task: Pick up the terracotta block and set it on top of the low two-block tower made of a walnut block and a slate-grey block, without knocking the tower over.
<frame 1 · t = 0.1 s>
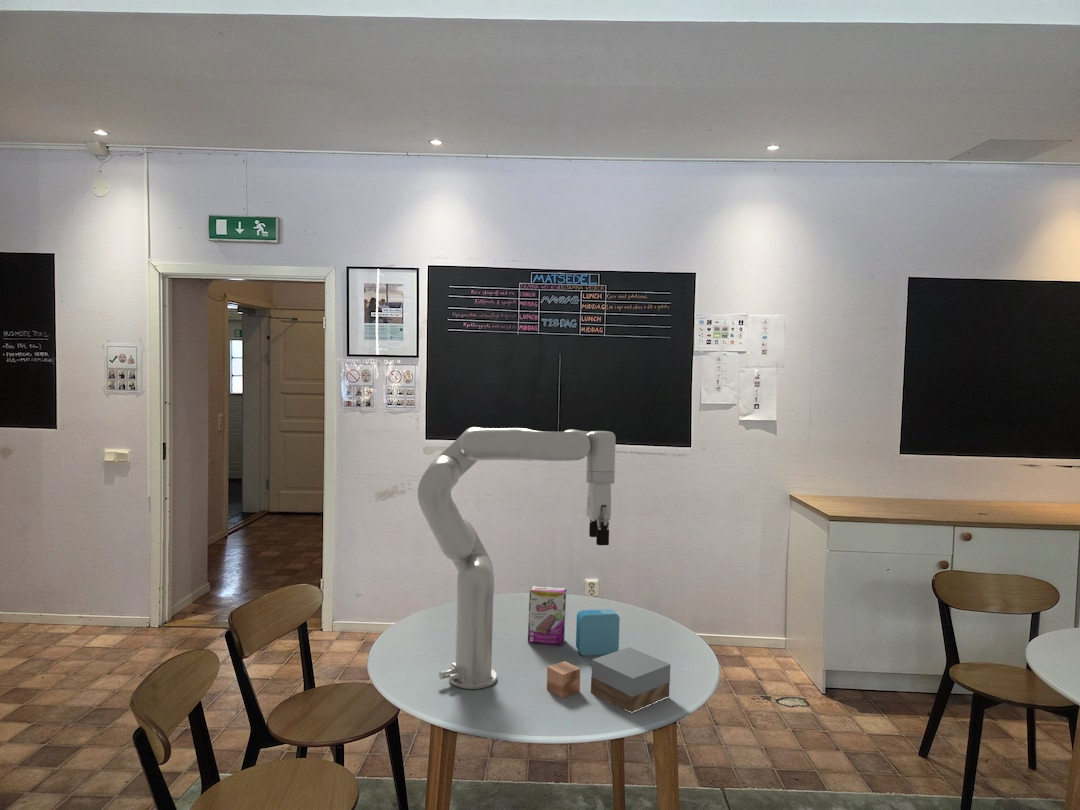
hand: (598, 540, 177), 37 cm above the table, tool pointing down, fingers open, 9 cm apart
tower bottom: (629, 696, 169), on the table, touching tower top
candy bar box: (546, 642, 203), on the table
blue rounded block: (597, 652, 196), on the table
stack block: (563, 690, 170), on the table
tower top: (630, 679, 168), point 4 cm above the table, touching tower bottom
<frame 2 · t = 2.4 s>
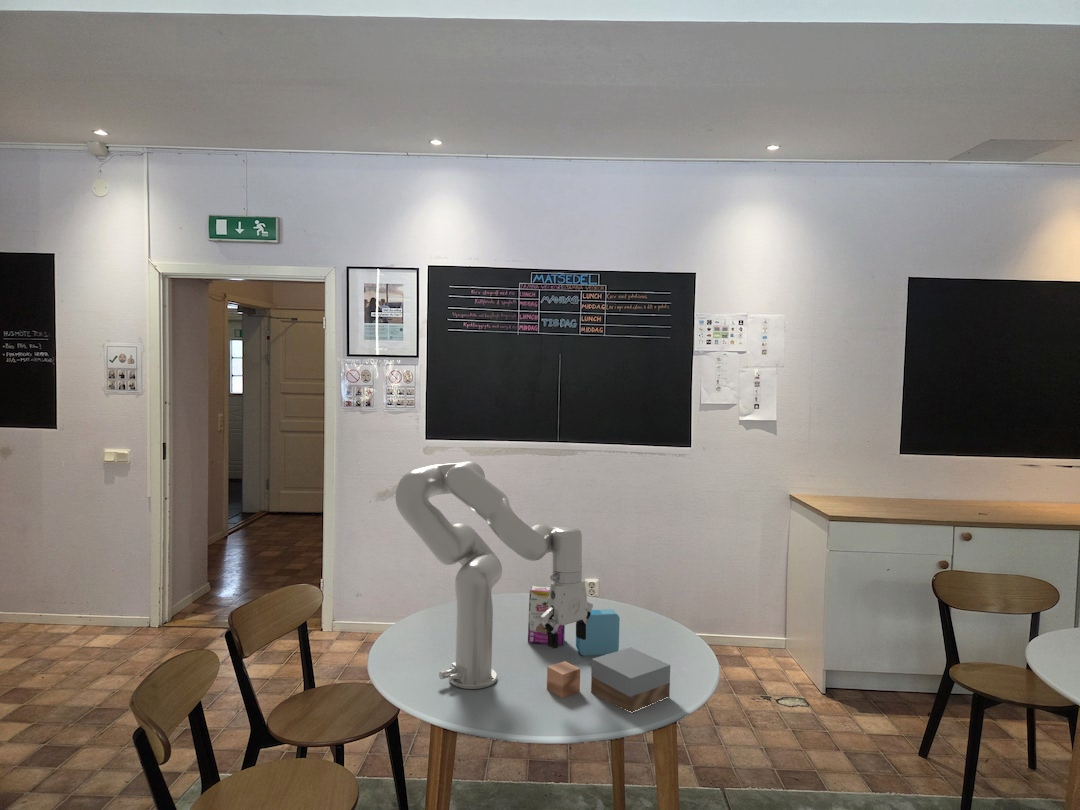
hand: (567, 642, 170), 12 cm above the table, tool pointing down, fingers open, 9 cm apart
nothing on the table moved.
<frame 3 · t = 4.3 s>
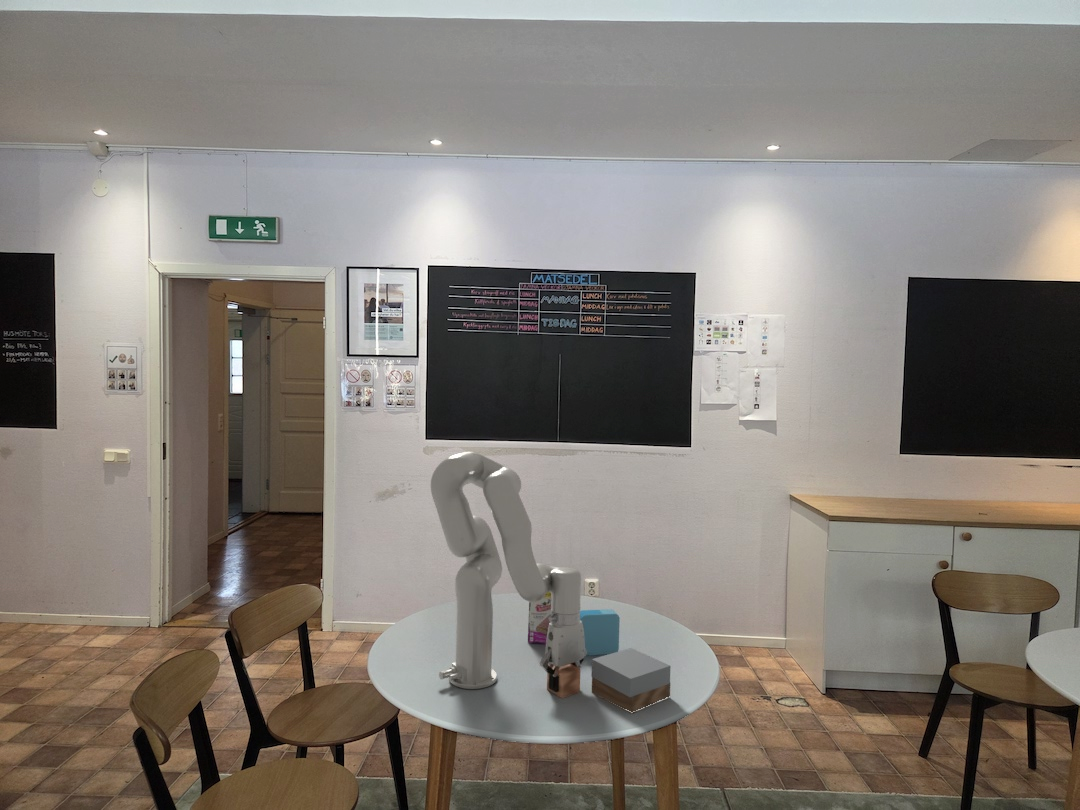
hand: (563, 686, 170), 1 cm above the table, tool pointing down, fingers closed on stack block, 6 cm apart
stack block: (563, 690, 170), on the table, touching gripper
everything else where it was.
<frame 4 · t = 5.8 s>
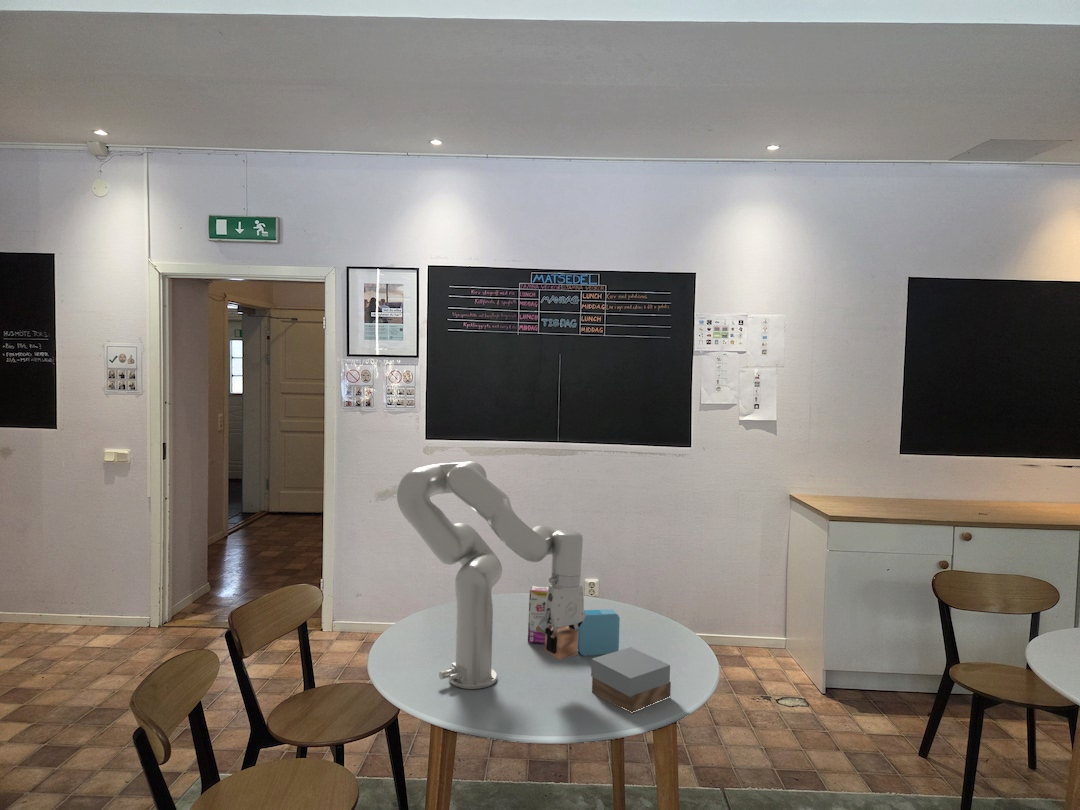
hand: (561, 648, 170), 11 cm above the table, tool pointing down, fingers closed on stack block, 6 cm apart
stack block: (560, 652, 170), point 10 cm above the table, touching gripper
everything else where it was.
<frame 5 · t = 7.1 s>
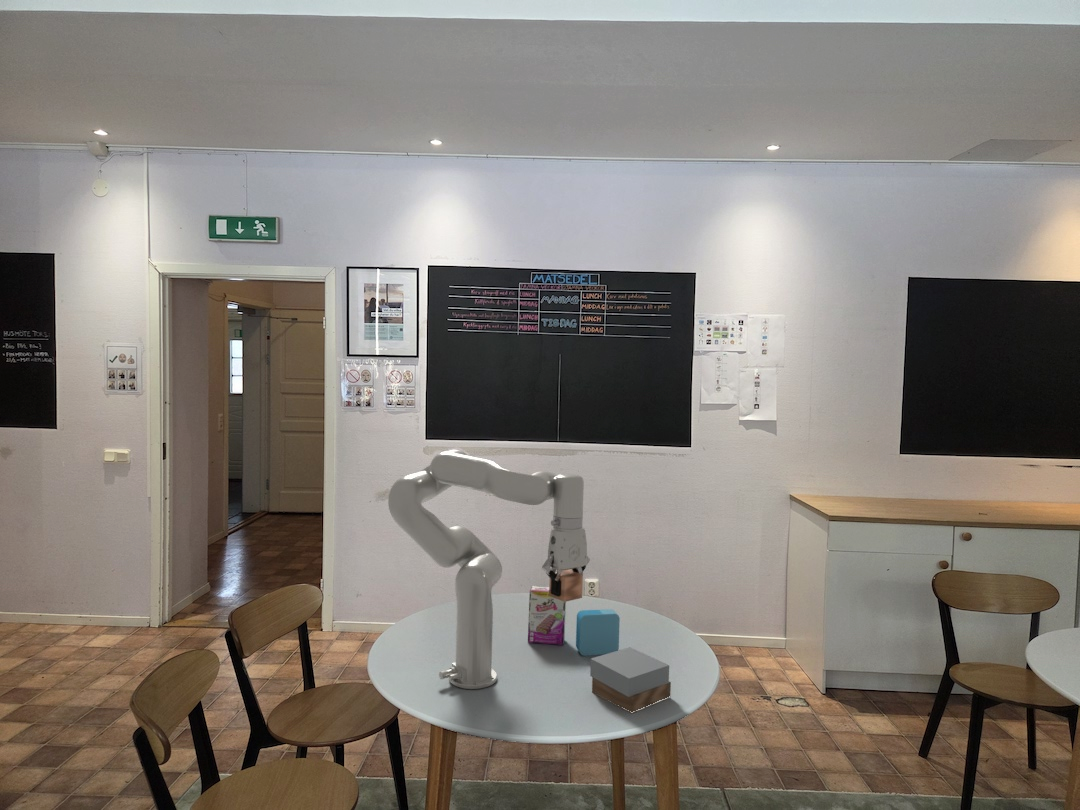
hand: (565, 592, 170), 25 cm above the table, tool pointing down, fingers closed on stack block, 6 cm apart
stack block: (565, 596, 170), point 24 cm above the table, touching gripper
everything else where it was.
when the fingers open (11 cm above the table, at t = 12.1 s): stack block drops 2 cm, resting on tower top.
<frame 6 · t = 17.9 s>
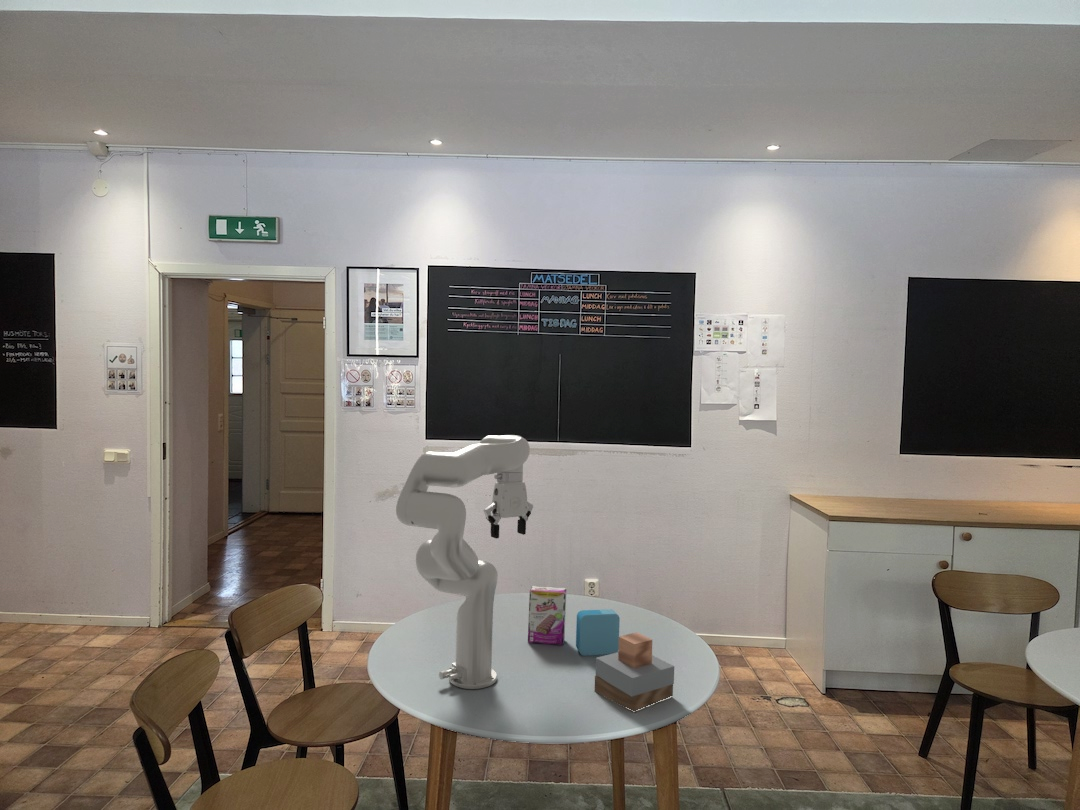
hand: (508, 535, 194), 34 cm above the table, tool pointing down, fingers open, 9 cm apart
stack block: (634, 661, 169), point 9 cm above the table, touching tower top
tower top: (634, 679, 169), point 4 cm above the table, touching stack block, tower bottom
at the end: stack block inside the target area (1.3 cm from its centre), point 8.3 cm above the table; stack block tilted 0°; tower top 1.2 cm from the target spot, point 3.8 cm above the table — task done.
